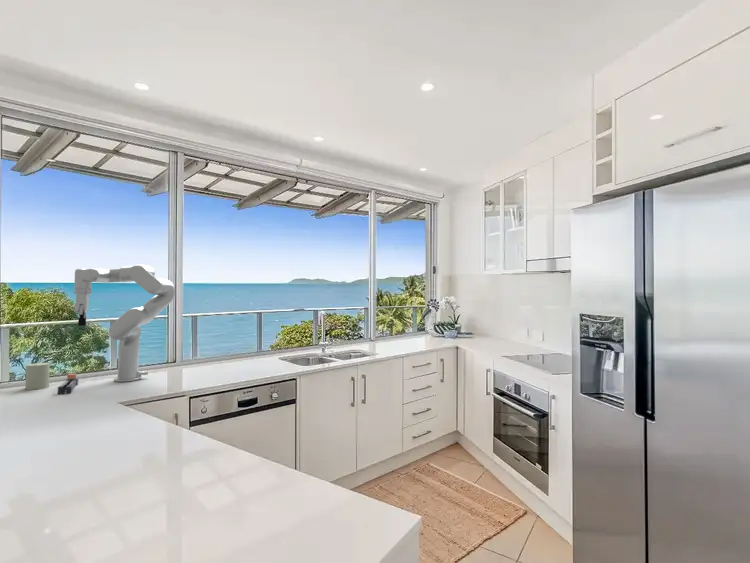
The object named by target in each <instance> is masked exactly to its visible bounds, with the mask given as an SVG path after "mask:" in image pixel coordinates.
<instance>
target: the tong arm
mask: <svg viewBox="0 0 750 563" xmlns="http://www.w3.org/2000/svg"><path fill="white" fill-rule="evenodd" d="M70 383H71V380H67V381H66V380H65V381H64V382H63V383H62V384H61V385H59V386H58V387H57V394H58V395H61V394H64V393H66V387H67V385H69V384H70Z"/></svg>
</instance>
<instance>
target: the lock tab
mask: <svg viewBox="0 0 750 563" xmlns="http://www.w3.org/2000/svg"><path fill="white" fill-rule="evenodd" d="M66 376H67V378H66V379H74V378H76V377H77V373H68V374H67V375H66Z"/></svg>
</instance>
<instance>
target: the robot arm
mask: <svg viewBox="0 0 750 563" xmlns="http://www.w3.org/2000/svg"><path fill="white" fill-rule="evenodd" d="M74 270H75V271H74V289H73V290H74V293H73V295H75V308H74V313H76V314H77V313H78V319H77V320H78V324H77V325H78V326H79V327H84V326H86V325H87V312H88V311H89V303H90V302H89V301H90V300H89V298H90V295H92V288H93V287H92V284H93V283H101V284H102V283H103V284H104V283H105V284H107V283H108V284H109V283H130V282H135V284H137V285H138V287H139V286H140V287H141V288H142V289H143V291H146V292H147V293H149V294H150V295H154V296H153V297H151V298H150V299H148V301H147V302H145V303H144V304H143V305H142V306H140V307H139V306H137V307H133V308H129V309H128V310H126V311H125V312H124V313H123V314H121V316H120V317H119V318H117V319H116V320H115V321H114V322H113V323H111V325H110V327H109V329H108V334H109V337H110V338H111V339H113V340H114V341H119V342H118V348H117V350H118V351H117V377H114V378H113V381H114V382H118V383H119V382H120V383H121V382H122V383H124V382H134V381H139V380H141V379H142V376H148V375H149V371H148V370H147V371H145V370H144V371H141V370H140V369H139V360H140V359H139V358H140V357H139V353H140V351H139V350H140V339H141V334H142V328H141V326H144V325H148V324H149V323H151V322H152V321H153V320H155V318H156V317H158V315H159V314H160V313H161V312H162V311H163V310H164V309H166V308H167V306H169V304H171V303H172V301H173V299H174V298H175V295H176V288H175V285H174V284H173V282H172V281H171V280H169V279H167V278H166V279H165V278H158V277H155V276H156V275H155V274H156V273H155V272H156V271H155V269H154V268H153V267H152V266H150V265H148V264H147V265H146V264H134V265H125V266H124V265H123V266H121V267H120V268H113V269H112V268H111V269H109V268H107V269H105V268H96V267H95V268H93V267H92V268H76V269H74Z"/></svg>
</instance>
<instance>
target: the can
mask: <svg viewBox="0 0 750 563" xmlns="http://www.w3.org/2000/svg"><path fill="white" fill-rule="evenodd" d="M50 364H51V363H50V362H37V363H29V364H25V388H24V389H25V390H26V391H36V390H42V389H43V390H44V389H47V388H49V387H50V366H51V365H50Z"/></svg>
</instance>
